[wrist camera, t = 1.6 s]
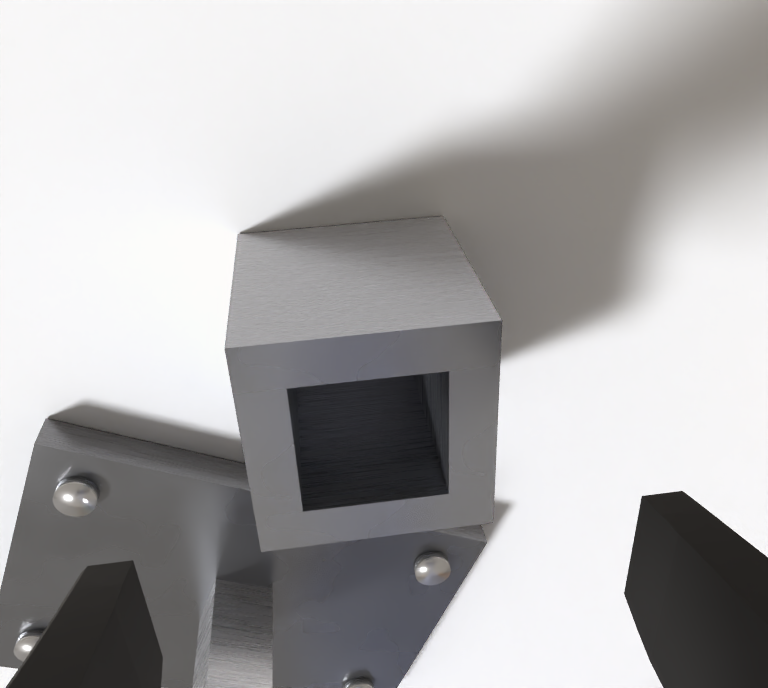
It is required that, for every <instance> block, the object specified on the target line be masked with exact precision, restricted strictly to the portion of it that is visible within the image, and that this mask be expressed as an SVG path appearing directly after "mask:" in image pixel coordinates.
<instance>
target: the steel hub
mask: <svg viewBox="0 0 768 688" xmlns="http://www.w3.org/2000/svg"><path fill="white" fill-rule="evenodd" d="M501 333H502V319H501V317H500V316H499V314H498V312H497V310H496V309H495V307H494V305H493V303H492V302H491V300H490V298H489V296H488V294H487V293H486V291H485V289H484V287H483V286H482V284H481V282H480V280H479V279H478V277H477V275H476V273H475V271H474V270H473V268H472V266H471V264H470V263H469V261H468V259H467V257H466V256H465V254H464V252H463V250H462V248H461V247H460V245H459V243H458V241H457V240H456V238H455V236H454V234H453V233H452V231H451V229H450V227H449V225H448V224H447V222H446V220H445V218H444V217H443V216H437V217H426V218H414V219H403V220H392V221H380V222H369V223H358V224H346V225H335V226H324V227H312V228H301V229H289V230H278V231H267V232H255V233H244V234H238V237H237V245H236V254H235V263H234V272H233V280H232V289H231V298H230V306H229V315H228V324H227V333H226V341H225V353H226V359H227V364H228V370H229V375H230V381H231V387H232V392H233V398H234V403H235V409H236V415H237V420H238V426H239V431H240V437H241V442H242V448H243V454H244V459H245V465H246V470H247V476H248V482H249V487H250V493H251V498H252V504H253V510H254V515H255V521H256V526H257V532H258V537H259V543H260V549H261V552H265V551H273V550H281V549H289V548H297V547H305V546H313V545H321V544H328V543H336V542H344V541H352V540H360V539H368V538H376V537H384V536H392V535H399V534H407V533H415V532H423V531H431V530H439V529H447V528H455V527H463V526H471V525H478V524H486V523H493V515H494V493H495V470H496V447H497V424H498V402H499V379H500V356H501Z"/></svg>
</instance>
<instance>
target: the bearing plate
mask: <svg viewBox="0 0 768 688" xmlns="http://www.w3.org/2000/svg"><path fill="white" fill-rule="evenodd" d="M486 543H487V541H486V538H485V535H484V532H483V530H482V527H481V524H478V525H471V526H463V527H455V528H447V529H439V530H431V531H423V532H415V533H407V534H399V535H392V536H384V537H376V538H368V539H360V540H352V541H344V542H336V543H328V544H321V545H313V546H305V547H297V548H289V549H281V550H273V551H265V552H261V549H260V543H259V537H258V532H257V526H256V521H255V515H254V510H253V504H252V498H251V493H250V487H249V482H248V476H247V470H246V465H245V464H243V463H238V462H234V461H230V460H225V459H221V458H216V457H212V456H208V455H203V454H199V453H195V452H190V451H186V450H182V449H177V448H173V447H168V446H164V445H160V444H155V443H151V442H147V441H142V440H138V439H134V438H129V437H125V436H120V435H116V434H112V433H107V432H103V431H99V430H94V429H90V428H86V427H81V426H77V425H72V424H68V423H64V422H59V421H55V420H51V419H45V422H44V424H43V426H42V428H41V430H40V433H39V435H38V437H37V439H36V441H35V444H34V448H33V452H32V456H31V461H30V465H29V469H28V473H27V478H26V482H25V486H24V491H23V495H22V499H21V504H20V508H19V512H18V516H17V521H16V525H15V529H14V534H13V538H12V542H11V547H10V551H9V555H8V559H7V564H6V568H5V572H4V577H3V581H2V585H1V589H0V666H2V667H10V668H18V669H19V668H20V666H21V665H22V663H23V662H24V660H25V659H26V657H27V656H28V654H29V653H30V651H31V650H32V648H33V647H34V645H35V644H36V642H37V641H38V639H39V638H40V636H41V635H42V633H43V632H44V630H45V629H46V627H47V625H48V624H49V622H50V621H51V619H52V618H53V616H54V615H55V613H56V611H57V610H58V608H59V607H60V605H61V604H62V602H63V600H64V599H65V597H66V596H67V594H68V593H69V591H70V589H71V588H72V586H73V585H74V583H75V582H76V580H77V578H78V577H79V575H80V574H81V572H82V571H83V570H84V569H85V568H86V567H87V566H91V565H99V564H107V563H115V562H123V561H131V560H133V561H134V565H135V568H136V571H137V574H138V578H139V581H140V584H141V587H142V591H143V594H144V597H145V600H146V604H147V607H148V610H149V613H150V617H151V620H152V623H153V626H154V630H155V633H156V636H157V639H158V643H159V646H160V649H161V652H162V656H163V665H162V680H161V688H397V687H398V685H399V684H400V682H401V681H402V679H403V677H404V676H405V674H406V672H407V671H408V669H409V668H410V666H411V664H412V663H413V661H414V660H415V658H416V656H417V655H418V653H419V651H420V650H421V648H422V647H423V645H424V643H425V642H426V640H427V639H428V637H429V635H430V634H431V632H432V630H433V629H434V627H435V626H436V624H437V622H438V621H439V619H440V618H441V616H442V614H443V613H444V611H445V609H446V608H447V606H448V605H449V603H450V601H451V600H452V598H453V597H454V595H455V593H456V592H457V590H458V588H459V587H460V585H461V584H462V582H463V580H464V579H465V577H466V576H467V574H468V572H469V571H470V569H471V568H472V566H473V564H474V563H475V561H476V559H477V558H478V556H479V555H480V553H481V551H482V550H483V548H484V547H485V545H486Z"/></svg>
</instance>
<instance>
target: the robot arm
mask: <svg viewBox="0 0 768 688" xmlns="http://www.w3.org/2000/svg"><path fill="white" fill-rule="evenodd" d="M624 594H625V597H626V600H627V603H628V605H629V608H630V611H631V613H632V616H633V619H634V621H635V624H636V627H637V630H638V632H639V635H640V637H641V640H642V642H643V645H644V647H645V650H646V652H647V655H648V657H649V660H650V662H651V664H652V666H653V668H654V670H655V672H656V674H657V676H658V678H659V680H660V682H661V684H662V686H663V687H664V688H768V557H766V556H765V555H764V554H763V553H761V552H760V551H759V550H757V549H756V548H755V547H754V546H752V545H751V544H750V543H748V542H747V541H746V540H745V539H743V538H742V537H741V536H739V535H738V534H737V533H736V532H734V531H733V530H732V529H731V528H729V527H728V526H727V525H726V524H724V523H723V522H722V521H720V520H719V519H718V518H717V517H715V516H714V515H713V514H712V513H710V512H709V511H708V510H706V509H705V508H704V507H703V506H701V505H700V504H699V503H697V502H696V501H695V500H694V499H692V498H691V497H690V496H688V495H687V494H686V493H684V492H683V491H679V492H671V493H663V494H655V495H647V496H642V499H641V504H640V510H639V515H638V521H637V526H636V532H635V537H634V543H633V548H632V554H631V559H630V565H629V570H628V576H627V581H626V587H625V592H624ZM162 665H163V656H162V652H161V649H160V646H159V643H158V639H157V636H156V633H155V630H154V626H153V623H152V620H151V617H150V613H149V610H148V607H147V604H146V600H145V597H144V594H143V591H142V587H141V584H140V581H139V578H138V574H137V571H136V568H135V565H134V561H133V560H131V561H123V562H115V563H107V564H99V565H91V566H87V567H86V568H85V569H84V570H83V571H82V572H81V574H80V575H79V577H78V578H77V580H76V582H75V583H74V585H73V586H72V588H71V589H70V591H69V593H68V594H67V596H66V597H65V599H64V600H63V602H62V604H61V605H60V607H59V608H58V610H57V611H56V613H55V615H54V616H53V618H52V619H51V621H50V622H49V624H48V625H47V627H46V629H45V630H44V632H43V633H42V635H41V636H40V638H39V639H38V641H37V642H36V644H35V645H34V647H33V648H32V650H31V651H30V653H29V654H28V656H27V657H26V659H25V660H24V662H23V663H22V665H21V666H20V668H19V669H18V671H17V672H16V674H15V675H14V676H13V678H12V679H11V681H10V682H9V684H8V685H7V686H6V688H161V680H162Z"/></svg>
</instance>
